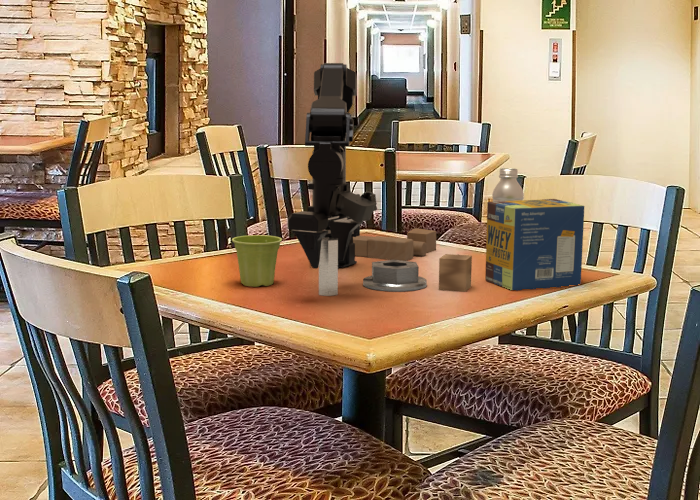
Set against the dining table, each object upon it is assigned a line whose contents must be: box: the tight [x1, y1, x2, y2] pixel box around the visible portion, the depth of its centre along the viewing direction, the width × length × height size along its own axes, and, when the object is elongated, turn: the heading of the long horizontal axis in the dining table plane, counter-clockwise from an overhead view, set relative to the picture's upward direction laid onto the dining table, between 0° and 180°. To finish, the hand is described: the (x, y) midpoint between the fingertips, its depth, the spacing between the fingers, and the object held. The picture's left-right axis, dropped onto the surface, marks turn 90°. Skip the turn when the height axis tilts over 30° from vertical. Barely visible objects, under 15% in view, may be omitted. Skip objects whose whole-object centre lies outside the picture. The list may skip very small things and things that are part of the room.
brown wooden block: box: [438, 253, 473, 293], centre depth 185 cm, size 5×5×6 cm
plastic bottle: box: [491, 167, 525, 202], centre depth 210 cm, size 6×7×20 cm
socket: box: [362, 260, 428, 293], centre depth 187 cm, size 12×12×4 cm
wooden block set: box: [353, 227, 437, 261], centre depth 224 cm, size 17×6×18 cm
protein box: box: [484, 198, 585, 291], centre depth 189 cm, size 10×15×16 cm
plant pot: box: [231, 234, 283, 288], centre depth 187 cm, size 9×9×9 cm
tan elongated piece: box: [318, 237, 339, 297], centre depth 179 cm, size 4×3×10 cm
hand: (328, 264), depth 179 cm, fingers open, 9 cm apart
